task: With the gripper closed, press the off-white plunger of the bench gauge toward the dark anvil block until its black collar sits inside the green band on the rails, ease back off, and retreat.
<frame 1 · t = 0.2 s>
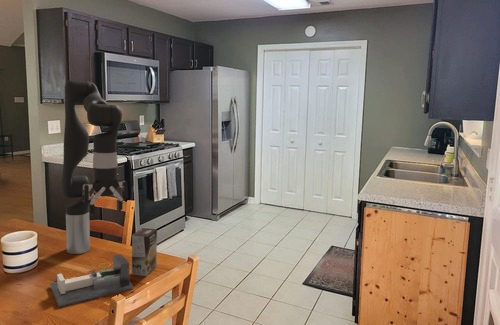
hand: (105, 213, 128), 29 cm above the table, tool pointing down, fingers open, 8 cm apart
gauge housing: (91, 287, 136), on the table
coffee box: (144, 271, 151), on the table
plunger: (80, 279, 133), point 4 cm above the table, slide at 0.0 cm
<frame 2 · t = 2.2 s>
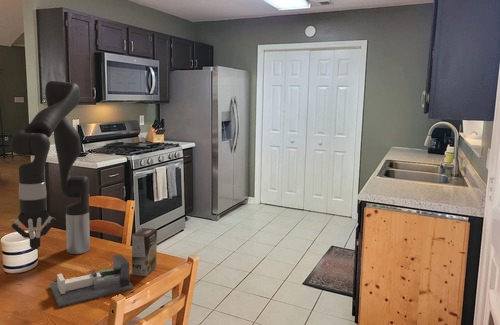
hand: (35, 248, 123), 18 cm above the table, tool pointing down, fingers closed
nothing on the table moved.
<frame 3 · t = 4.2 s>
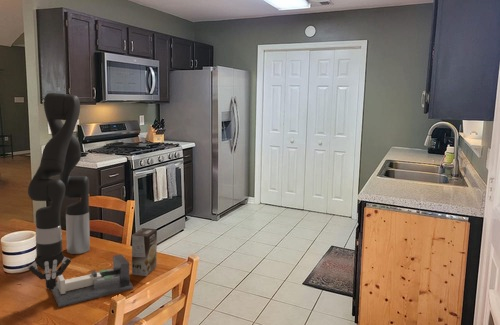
hand: (50, 288, 128), 3 cm above the table, tool pointing down, fingers closed
plunger: (80, 279, 133), point 4 cm above the table, slide at 0.0 cm, touching gripper
everything else where it was.
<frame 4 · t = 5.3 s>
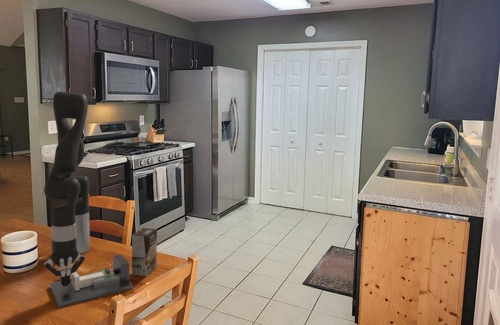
hand: (65, 285, 130), 3 cm above the table, tool pointing down, fingers closed
plunger: (93, 276, 136), point 4 cm above the table, slide at 4.5 cm, touching gripper
everything else where it was.
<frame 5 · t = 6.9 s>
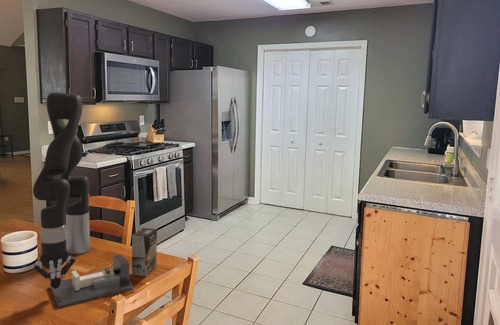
hand: (55, 287, 128), 3 cm above the table, tool pointing down, fingers closed
plunger: (93, 276, 136), point 4 cm above the table, slide at 4.6 cm
everything else where it was.
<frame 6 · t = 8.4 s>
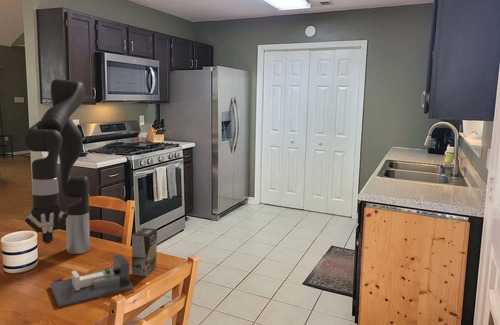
hand: (47, 242, 125), 19 cm above the table, tool pointing down, fingers closed
nothing on the table moved.
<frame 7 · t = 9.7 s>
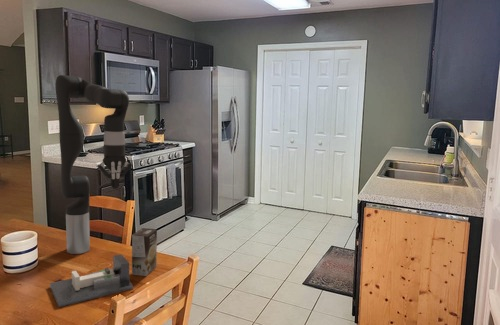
hand: (114, 188, 146), 33 cm above the table, tool pointing down, fingers closed
nothing on the table moved.
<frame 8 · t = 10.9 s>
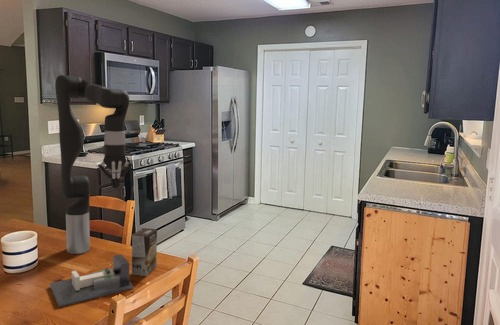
hand: (115, 187, 146), 33 cm above the table, tool pointing down, fingers closed
nothing on the table moved.
at the end: plunger slide at 4.6 cm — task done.
